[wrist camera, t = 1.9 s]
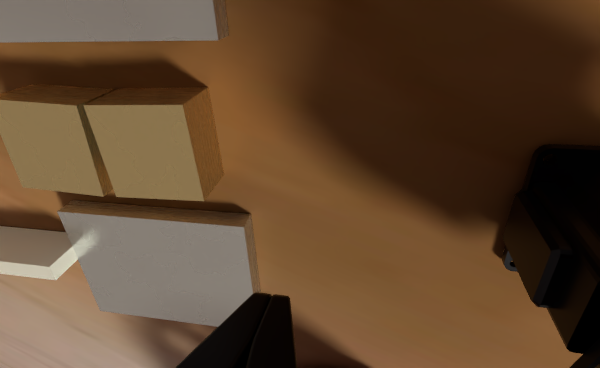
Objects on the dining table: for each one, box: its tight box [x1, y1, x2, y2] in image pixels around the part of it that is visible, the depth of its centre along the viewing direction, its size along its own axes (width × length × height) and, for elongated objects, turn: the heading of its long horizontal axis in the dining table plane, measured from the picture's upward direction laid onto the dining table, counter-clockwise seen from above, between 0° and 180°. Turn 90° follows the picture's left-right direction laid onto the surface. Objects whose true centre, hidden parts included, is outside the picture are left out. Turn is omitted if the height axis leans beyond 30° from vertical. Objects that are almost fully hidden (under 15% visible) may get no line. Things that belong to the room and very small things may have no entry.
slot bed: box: [0, 0, 260, 327], centre depth 18 cm, size 11×25×1 cm, turn 2°
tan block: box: [83, 87, 224, 201], centre depth 17 cm, size 4×4×3 cm
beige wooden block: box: [0, 84, 115, 197], centre depth 18 cm, size 4×4×3 cm
